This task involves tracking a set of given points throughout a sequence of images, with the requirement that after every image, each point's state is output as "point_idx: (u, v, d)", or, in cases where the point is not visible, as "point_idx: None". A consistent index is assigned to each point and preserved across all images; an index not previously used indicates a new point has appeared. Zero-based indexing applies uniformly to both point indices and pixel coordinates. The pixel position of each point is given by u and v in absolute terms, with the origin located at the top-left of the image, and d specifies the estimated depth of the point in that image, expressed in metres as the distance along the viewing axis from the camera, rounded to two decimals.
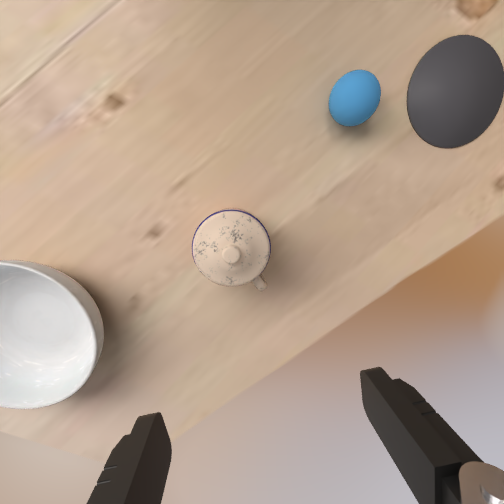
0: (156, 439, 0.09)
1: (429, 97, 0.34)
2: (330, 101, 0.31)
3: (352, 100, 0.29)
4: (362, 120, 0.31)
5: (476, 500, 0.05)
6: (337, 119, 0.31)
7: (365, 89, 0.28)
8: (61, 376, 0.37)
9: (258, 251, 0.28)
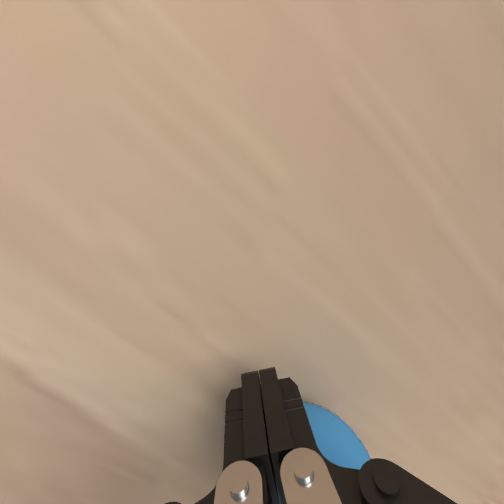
0: (261, 392, 0.10)
1: None
2: None
3: None
4: None
5: (294, 491, 0.06)
6: None
7: None
8: None
9: None
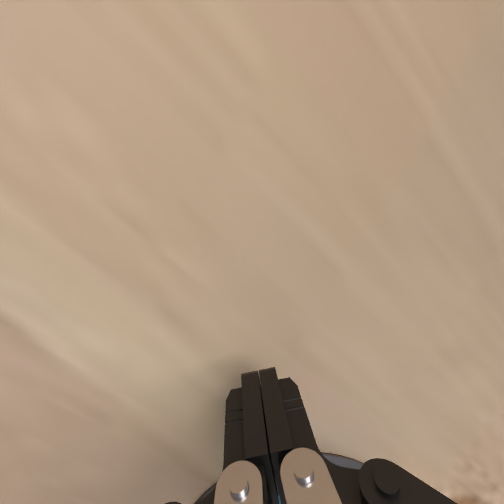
0: (261, 392, 0.10)
1: None
2: None
3: None
4: None
5: (295, 492, 0.06)
6: None
7: None
8: None
9: None
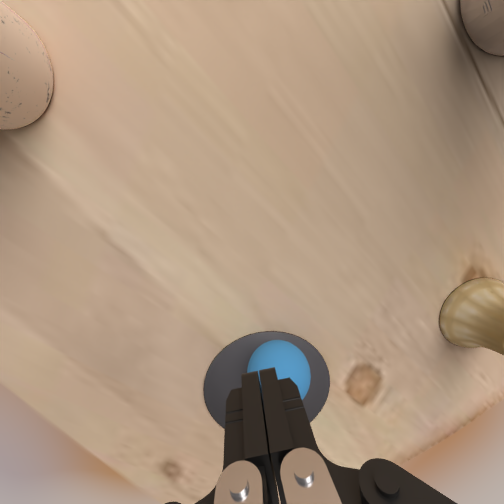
0: (261, 392, 0.10)
1: None
2: None
3: None
4: None
5: (295, 491, 0.06)
6: None
7: None
8: None
9: None
